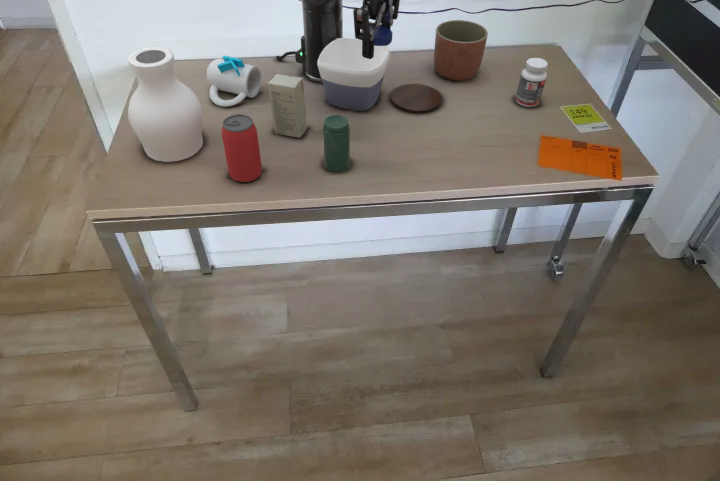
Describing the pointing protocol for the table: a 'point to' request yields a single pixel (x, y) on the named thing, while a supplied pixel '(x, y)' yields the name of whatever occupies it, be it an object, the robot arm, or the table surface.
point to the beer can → (241, 148)
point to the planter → (459, 49)
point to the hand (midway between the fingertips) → (376, 50)
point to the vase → (163, 108)
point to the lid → (382, 36)
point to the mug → (233, 80)
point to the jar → (336, 143)
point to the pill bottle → (532, 82)
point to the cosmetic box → (288, 105)
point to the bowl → (352, 73)
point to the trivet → (416, 98)
